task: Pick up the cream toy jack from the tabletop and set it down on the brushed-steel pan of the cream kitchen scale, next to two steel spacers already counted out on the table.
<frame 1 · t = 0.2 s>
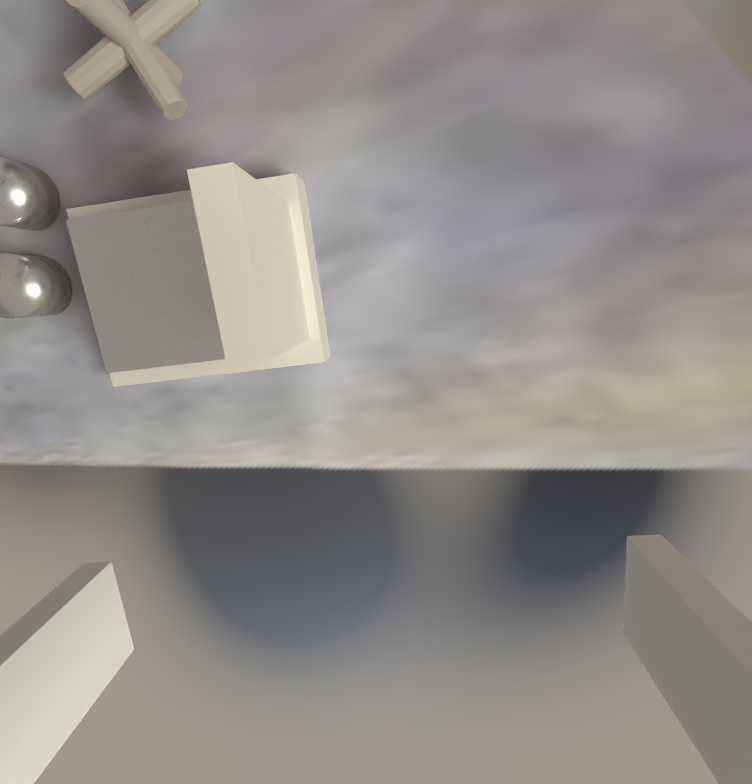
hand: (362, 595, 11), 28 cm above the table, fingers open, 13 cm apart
spacer a: (31, 198, 37), on the table
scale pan: (162, 289, 32), point 6 cm above the table, slide at -0.4 cm
scale base: (214, 287, 37), on the table
cream toy jack: (172, 76, 34), on the table
spacer b: (44, 286, 38), on the table
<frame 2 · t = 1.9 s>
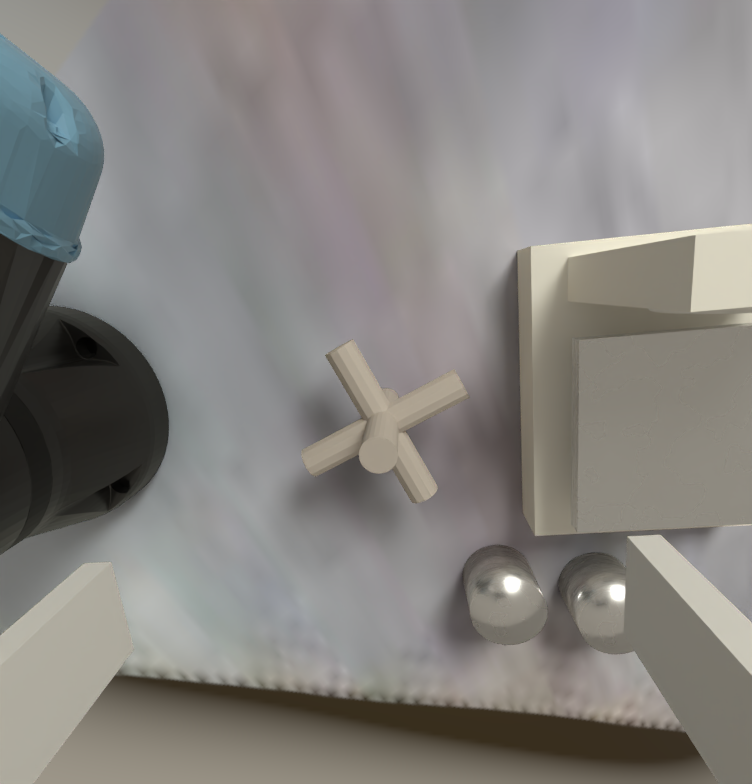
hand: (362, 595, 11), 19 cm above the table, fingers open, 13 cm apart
spacer a: (496, 574, 33), on the table
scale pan: (679, 431, 24), point 6 cm above the table, slide at -0.4 cm
scale base: (629, 382, 29), on the table
cream toy jack: (386, 400, 30), on the table
spacer b: (592, 582, 32), on the table
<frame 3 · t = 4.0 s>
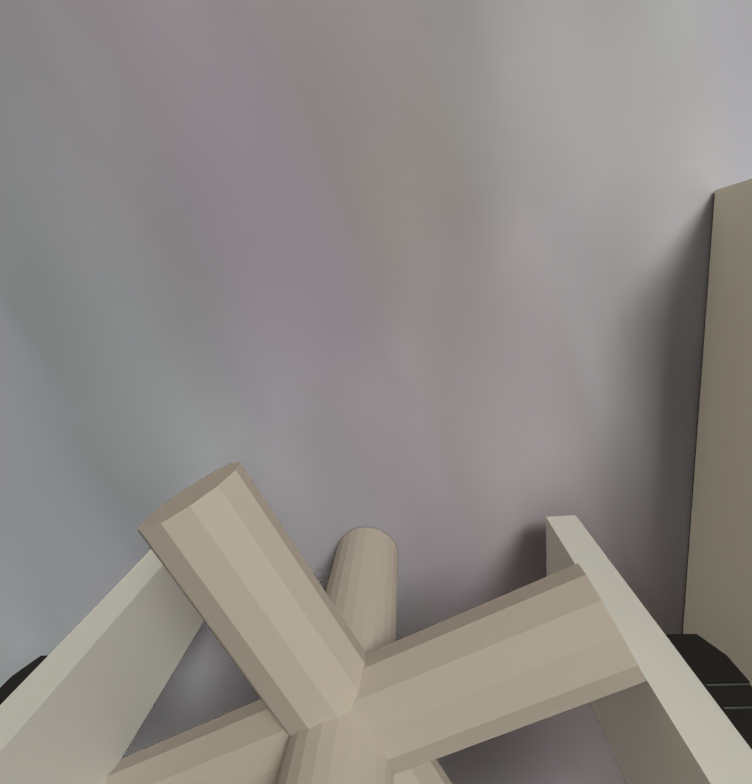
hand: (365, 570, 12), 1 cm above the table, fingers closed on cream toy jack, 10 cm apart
cream toy jack: (367, 551, 13), on the table, touching gripper
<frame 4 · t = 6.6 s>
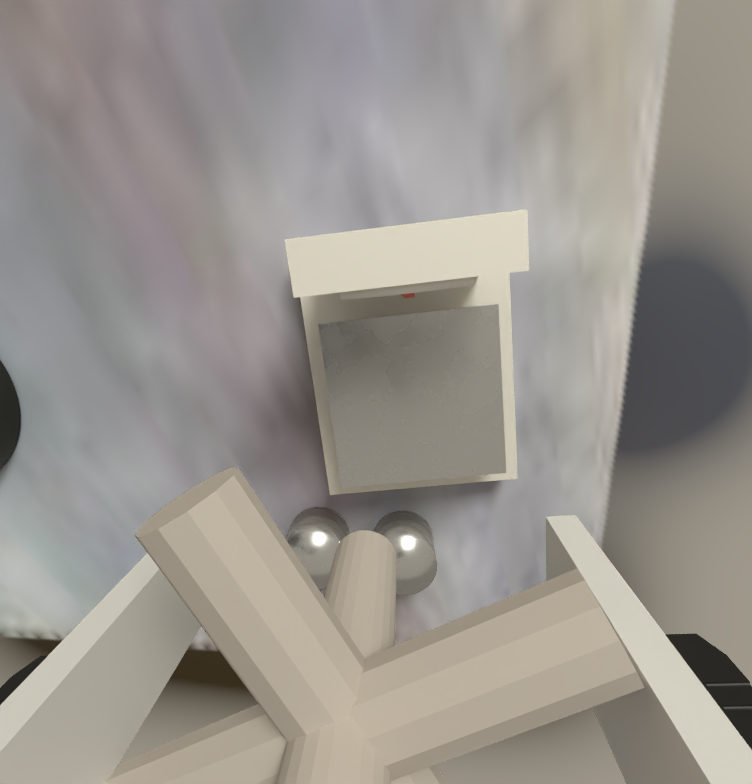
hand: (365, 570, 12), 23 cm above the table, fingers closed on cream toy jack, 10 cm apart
spacer a: (319, 533, 37), on the table
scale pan: (415, 399, 28), point 6 cm above the table, slide at -0.4 cm
scale base: (409, 361, 34), on the table
cream toy jack: (366, 554, 13), point 22 cm above the table, touching gripper
spacer b: (402, 537, 37), on the table
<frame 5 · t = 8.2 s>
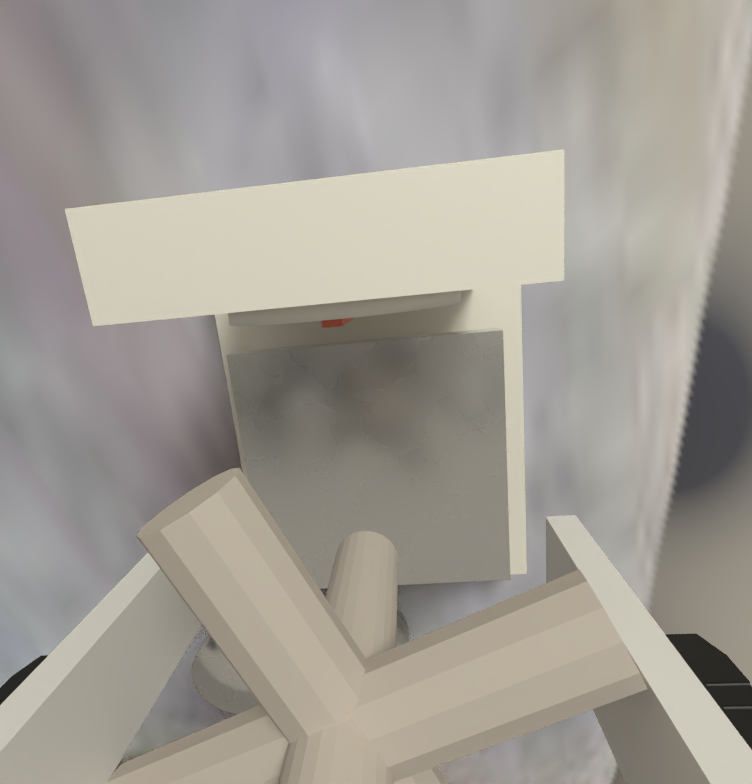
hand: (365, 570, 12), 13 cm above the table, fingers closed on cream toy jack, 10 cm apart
spacer a: (259, 623, 28), on the table
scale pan: (375, 467, 19), point 6 cm above the table, slide at -0.4 cm
scale base: (378, 401, 24), on the table
cream toy jack: (367, 554, 13), point 12 cm above the table, touching gripper
spacer b: (369, 632, 28), on the table
when the fingers open (8 cm above the table, at t = 9.5 s): cream toy jack drops 2 cm, resting on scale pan.
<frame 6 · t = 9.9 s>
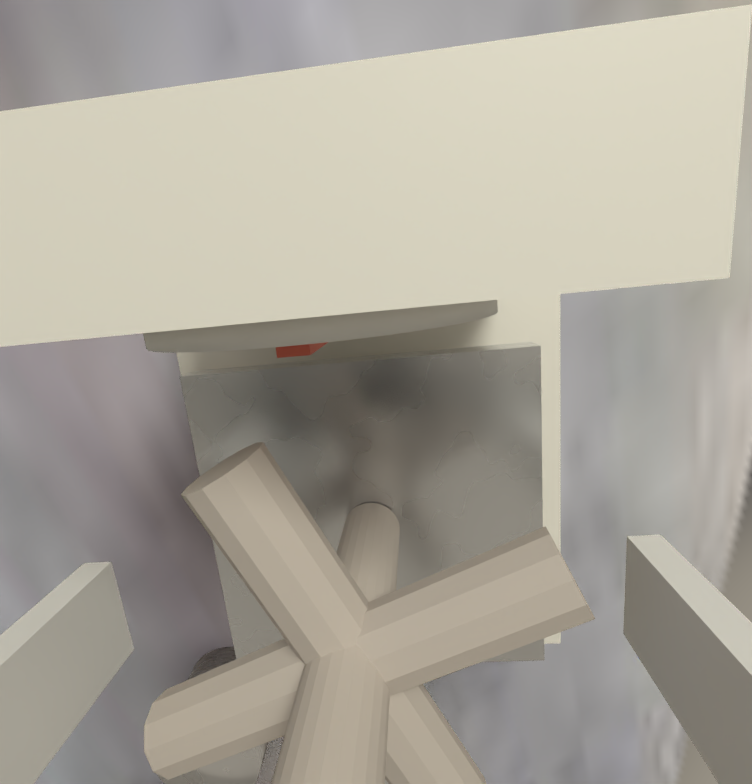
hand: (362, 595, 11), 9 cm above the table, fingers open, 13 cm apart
spacer a: (237, 685, 24), on the table
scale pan: (372, 518, 15), point 5 cm above the table, slide at -0.7 cm, touching cream toy jack
scale base: (377, 427, 20), on the table
cream toy jack: (372, 524, 15), point 6 cm above the table, touching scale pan
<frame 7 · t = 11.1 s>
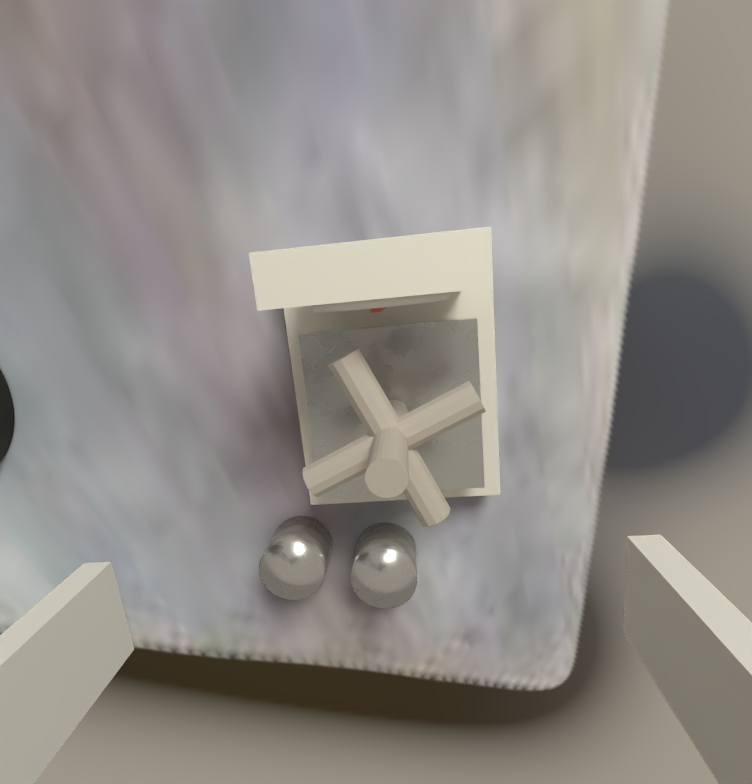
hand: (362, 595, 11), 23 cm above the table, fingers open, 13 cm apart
spacer a: (303, 542, 37), on the table
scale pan: (394, 410, 29), point 5 cm above the table, slide at -0.7 cm, touching cream toy jack
scale base: (394, 372, 33), on the table
cream toy jack: (394, 412, 28), point 6 cm above the table, touching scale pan
spacer b: (386, 549, 37), on the table
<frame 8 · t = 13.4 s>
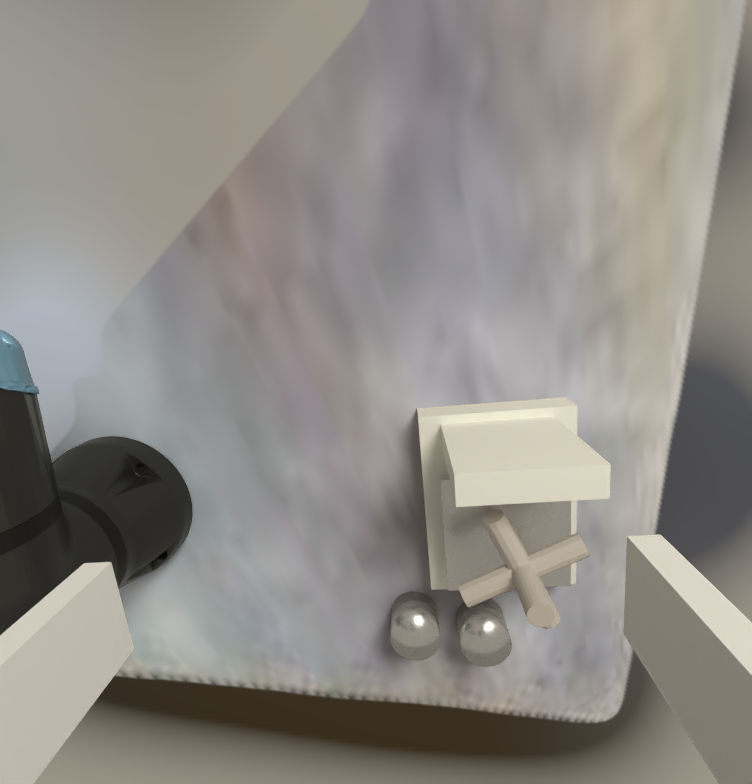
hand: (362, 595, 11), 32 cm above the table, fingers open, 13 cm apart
spacer a: (414, 611, 48), on the table
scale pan: (505, 531, 39), point 5 cm above the table, slide at -0.7 cm, touching cream toy jack
scale base: (493, 489, 44), on the table
cream toy jack: (506, 533, 39), point 6 cm above the table, touching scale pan
spacer b: (479, 616, 48), on the table
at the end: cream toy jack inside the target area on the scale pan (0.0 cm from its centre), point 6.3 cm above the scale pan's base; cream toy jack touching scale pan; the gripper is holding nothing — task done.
